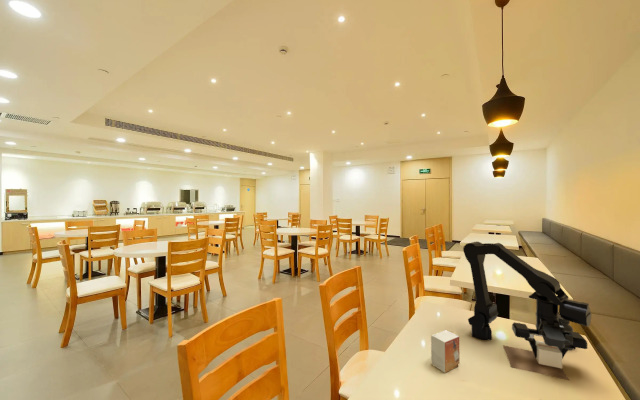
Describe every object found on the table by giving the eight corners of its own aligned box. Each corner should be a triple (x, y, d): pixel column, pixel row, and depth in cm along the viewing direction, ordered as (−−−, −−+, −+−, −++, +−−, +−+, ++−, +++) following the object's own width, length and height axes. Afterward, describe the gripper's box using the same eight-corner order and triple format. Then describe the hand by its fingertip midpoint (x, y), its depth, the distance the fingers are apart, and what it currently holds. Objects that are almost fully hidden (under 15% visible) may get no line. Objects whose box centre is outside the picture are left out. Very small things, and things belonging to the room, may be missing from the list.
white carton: (539, 363, 88) (538, 348, 88) (533, 353, 93) (533, 339, 93) (562, 368, 85) (562, 353, 85) (555, 358, 91) (555, 343, 91)
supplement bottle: (578, 353, 96) (578, 321, 96) (556, 352, 98) (556, 320, 97) (564, 343, 103) (564, 313, 103) (544, 341, 104) (544, 312, 104)
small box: (444, 373, 87) (444, 342, 87) (430, 364, 92) (430, 334, 92) (460, 366, 91) (459, 336, 91) (445, 357, 96) (445, 329, 96)
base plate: (511, 370, 88) (511, 367, 88) (502, 347, 101) (502, 345, 101) (569, 383, 82) (569, 380, 82) (552, 357, 94) (552, 354, 94)
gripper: (519, 319, 86) (519, 366, 86) (596, 331, 78) (596, 382, 78) (511, 306, 96) (511, 348, 96) (579, 315, 88) (579, 361, 88)
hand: (547, 359), depth 89 cm, fingers closed on white carton, 6 cm apart
